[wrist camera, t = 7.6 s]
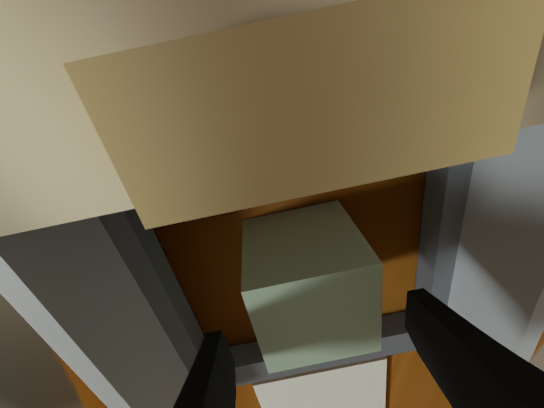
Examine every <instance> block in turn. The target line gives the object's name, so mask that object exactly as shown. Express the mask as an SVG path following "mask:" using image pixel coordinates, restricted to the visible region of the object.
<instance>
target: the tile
mask: <svg viewBox="0 0 544 408" xmlns="http://www.w3.org/2000/svg"><path fill="white" fill-rule="evenodd" d="M386 374H387V358H386V356H384V357H379V358H374V359H369V360H364V361H359V362H354V363H349V364H344V365H339V366H334V367H329V368H324V369H319V370H314V371H309V372H304V373H299V374H294V375H289V376H284V377H279V378H274V379H269V380H264V381H260V382H255V383H253V388H254V390H255V393H256V395H257V398H258V400H259V403H260V405H261V408H385V404H386Z"/></svg>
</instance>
